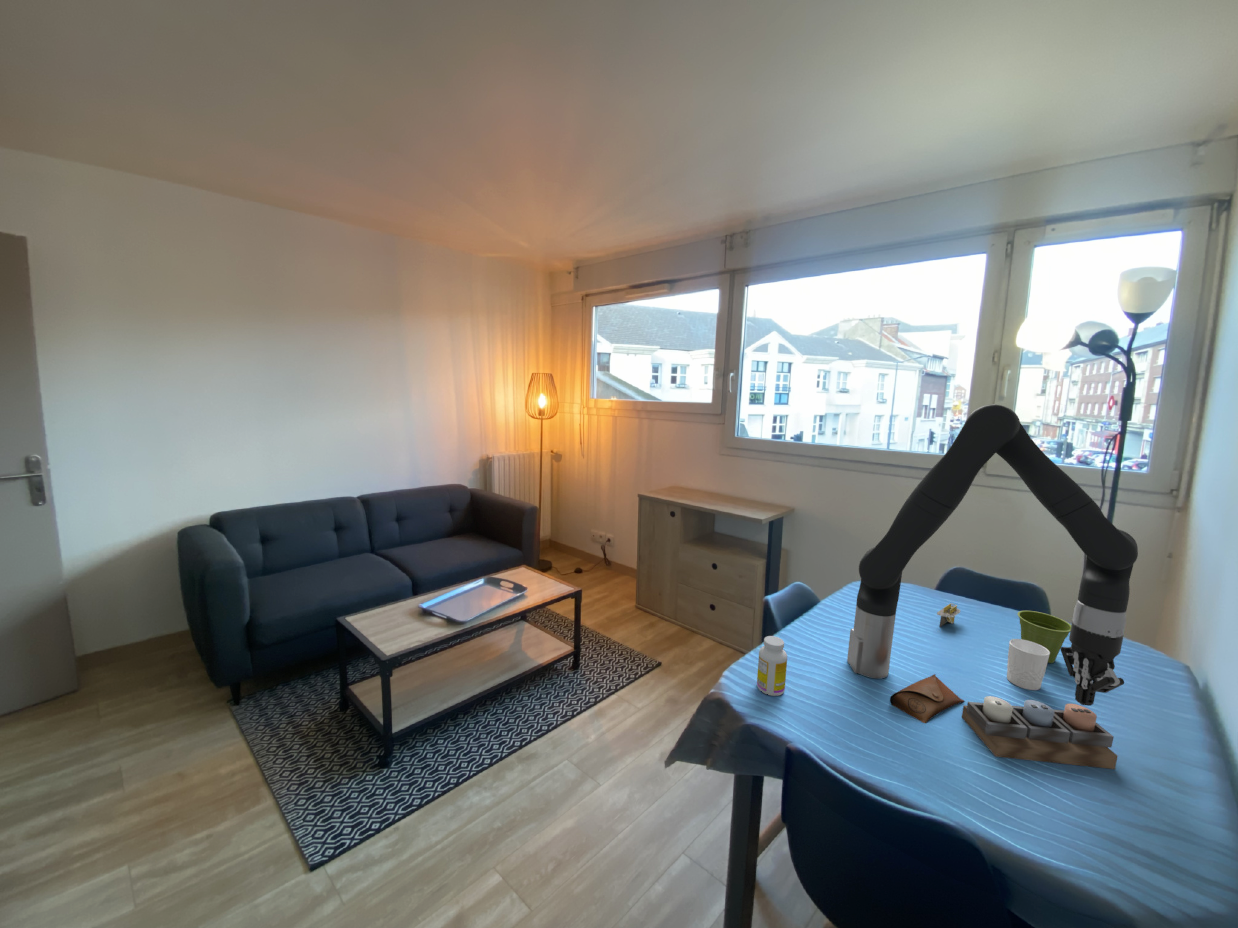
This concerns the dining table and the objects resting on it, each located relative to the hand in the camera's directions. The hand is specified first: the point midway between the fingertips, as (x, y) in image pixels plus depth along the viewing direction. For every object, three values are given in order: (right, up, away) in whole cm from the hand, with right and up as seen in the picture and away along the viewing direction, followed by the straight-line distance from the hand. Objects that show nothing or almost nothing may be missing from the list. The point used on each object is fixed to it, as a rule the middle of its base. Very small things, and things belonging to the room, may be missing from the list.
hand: (1083, 703), depth 100 cm
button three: (0, -5, +1) cm, 5 cm away
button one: (-16, -4, +3) cm, 17 cm away
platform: (+9, -2, +54) cm, 55 cm away
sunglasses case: (-23, -8, +15) cm, 29 cm away
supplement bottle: (-60, -6, +19) cm, 63 cm away
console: (-8, -9, +3) cm, 13 cm away
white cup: (+7, -7, +24) cm, 26 cm away
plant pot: (+22, -5, +36) cm, 42 cm away
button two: (-8, -4, +2) cm, 9 cm away
